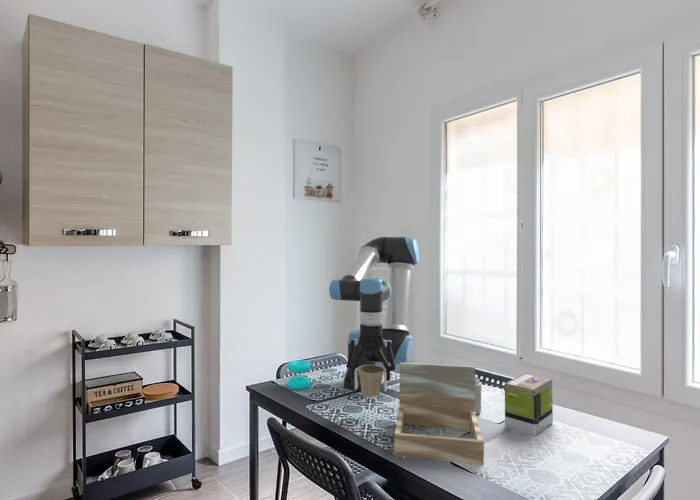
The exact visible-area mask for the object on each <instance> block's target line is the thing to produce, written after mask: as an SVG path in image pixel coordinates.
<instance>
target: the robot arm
mask: <svg viewBox="0 0 700 500" xmlns="http://www.w3.org/2000/svg"><path fill="white" fill-rule="evenodd" d="M419 263H420V253H419V245H418V242H417V239H416V238H415V237H413V236H411V237H410V236H381V237H380V236H379V237H377V238H374V239H371V240H370V241H367V243H365V244H363V245H362V247H361V248H360V249H359V251H358V253H357V258H356V259H355V261H353V263H352V264H351V266H350V267H349V268H348V270H347V271H346V272H345V274H344V275H343V277H342V278H341V279H339V278H337V279H332V281H330V284H329V288H328V290H329V291H328V292H329V296H330V298H331V299H332V300H336V301H340V302H342V301H345V302H346V301H348V302H349V301H351V302H352V301H353V302H359V322H360V325H359V329H354V330H353V331H351V332H349V333H348V336H347V337H348V338H347V360H346V361H347V362H346V371H345V373H344V374H345V375H344V377H343V387H344V388H346V389H348V390H352V391H358V392H359V391H360V392H361V384H360V376H359V374H358V370H357V368H358V367H359V366H363V365H376V363H382V365H383V368H384V369H385V371H384V372H383V391H384V392H387V390H388V382H389V381H391V372H392V371H395V370H396V367H397V366H396V365H400V363H409V361H410V359H411V356H412V352H413V347H414V337H413V336H412V335H411V334H410V330H409V329H408V328H407V321H408V310H409V309H408V308H409V298H410V297H409V295H410V286H411V285H410V282H411V272H412V271H413V270H414V269H415V265H418V264H419ZM378 264H387V268H388V269H389V270H390V272H389V282H387V281H386V280H382V279H381V278H378V277H367V276H368V275H369V274H370V272H371V270H372V269H373V267H376V266H377V265H378ZM386 301H387V308H386V317H385V318H386V319H385V325H384V326H383V324H382V323H383V302H386Z"/></svg>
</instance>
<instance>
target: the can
mask: <svg viewBox="0 0 700 500" xmlns="http://www.w3.org/2000/svg"><path fill="white" fill-rule="evenodd" d="M475 413H476V416H477V415H479V413H482V383H481V382H480V378H478V377H476V376H475Z"/></svg>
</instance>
